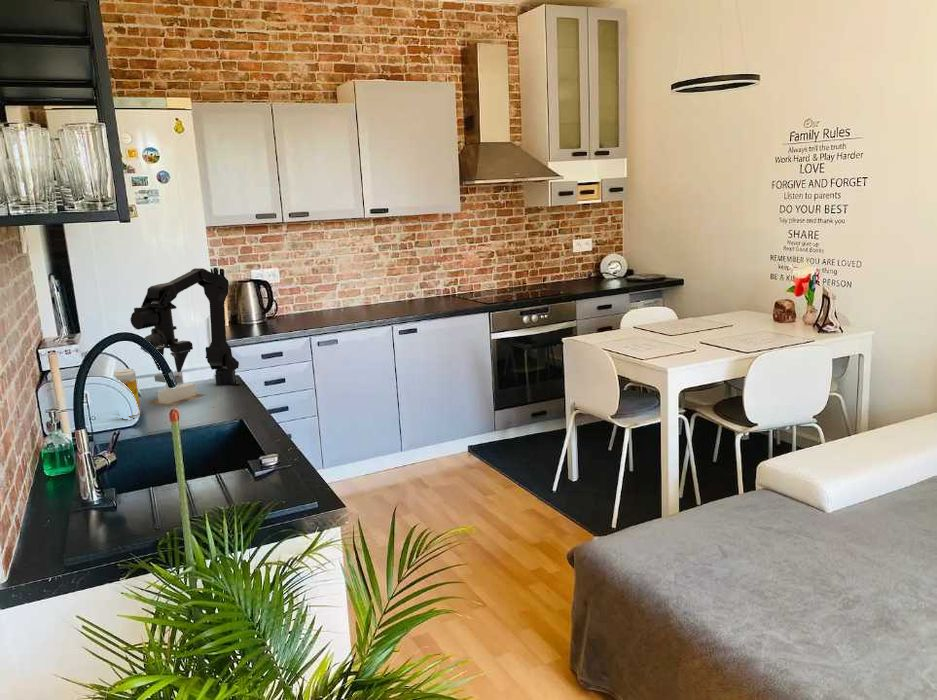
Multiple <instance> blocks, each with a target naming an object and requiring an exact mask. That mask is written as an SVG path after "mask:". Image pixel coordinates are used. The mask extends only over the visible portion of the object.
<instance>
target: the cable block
mask: <svg viewBox="0 0 937 700" xmlns="http://www.w3.org/2000/svg"><path fill="white" fill-rule="evenodd" d="M176 386H177V385H176ZM156 393H157V399H158V400H159V403H163V404H169V403H172V402H175V401H179V400H182V399H186V398H189V397H192V396H196V394H197V388H196V383H191V382H184V384H181V385H178V386H177V387H176V388H175V389H171V388H164V389H159V390H157V391H156Z"/></svg>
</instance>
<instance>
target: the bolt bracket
mask: <svg viewBox="0 0 937 700" xmlns="http://www.w3.org/2000/svg"><path fill="white" fill-rule="evenodd" d="M172 373H173V375H174V376H182V382H181V383H178V384H176V386H177V385H181V384H185V382H184V378H183V377H184V376H183V372H182V371H181V372H177V371H176V372H172ZM167 388H169V387H168V385H167V383H165V389H167Z"/></svg>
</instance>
